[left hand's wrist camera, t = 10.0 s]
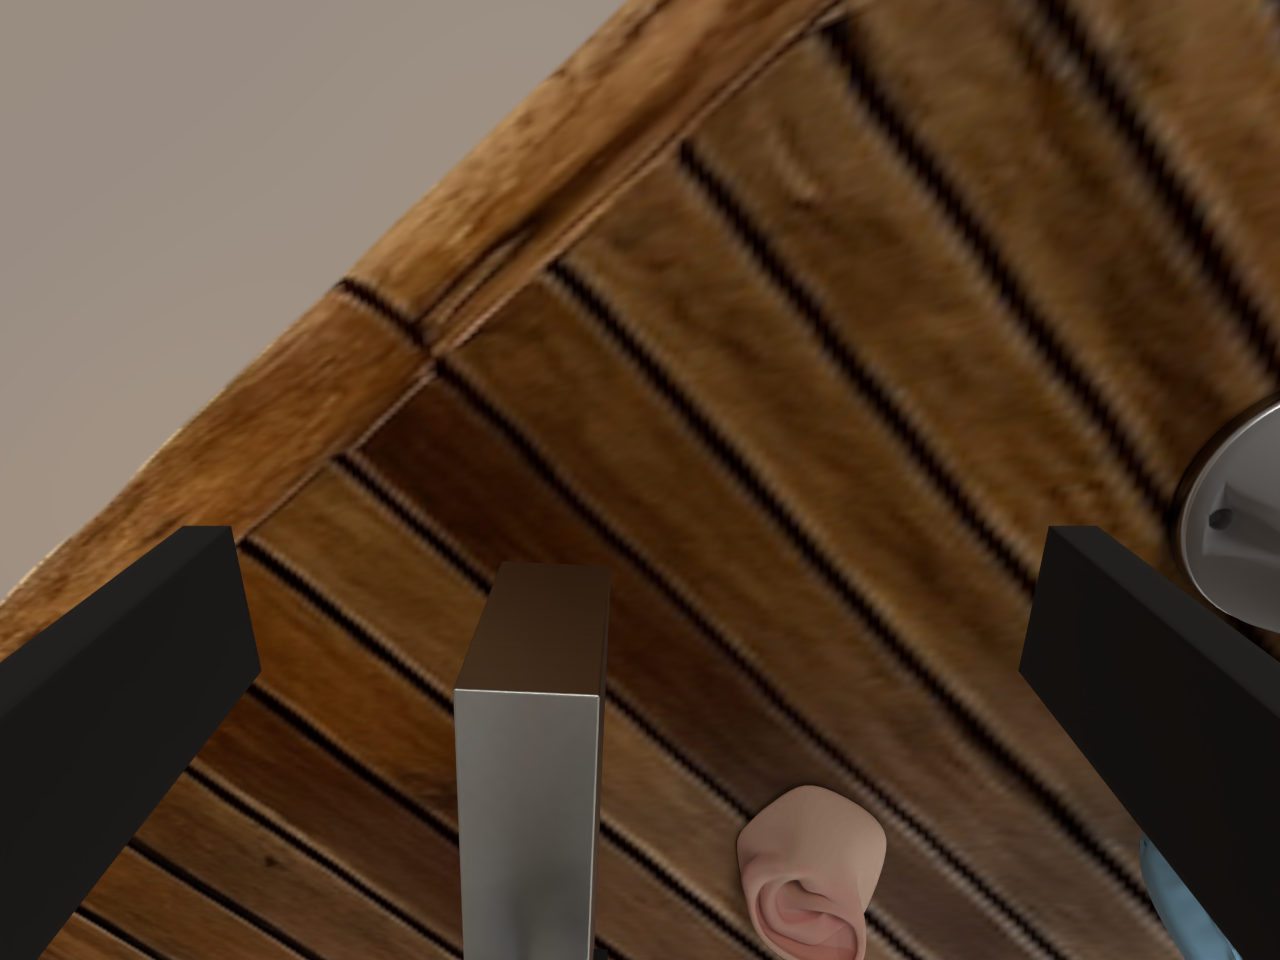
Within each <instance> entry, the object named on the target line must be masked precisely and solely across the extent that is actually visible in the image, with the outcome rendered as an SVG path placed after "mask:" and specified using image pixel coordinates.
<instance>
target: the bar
mask: <svg viewBox="0 0 1280 960" xmlns="http://www.w3.org/2000/svg"><path fill="white" fill-rule="evenodd" d="M610 572H611V568H610V567H609V566H591V565H570V564H549V563H528V562H507V561H503V562H501V565H500V567H499V570H498V573H497V575H496V578H495V581H494V583H493V586H492V589H491V591H490V594H489V597H488V599H487V602H486V605H485V607H484V610H483V613H482V615H481V618H480V620H479V623H478V626H477V628H476V631H475V634H474V636H473V639H472V642H471V644H470V647H469V650H468V652H467V655H466V658H465V660H464V663H463V666H462V668H461V671H460V674H459V676H458V679H457V681H456V684H455V687H454V689H453V696H454V721H455V746H456V772H457V797H458V822H459V848H460V873H461V898H462V923H463V949H464V960H593V954H594V938H595V915H596V892H597V869H598V846H599V823H600V800H601V778H602V755H603V732H604V709H605V686H606V663H607V640H608V617H609V595H610Z"/></svg>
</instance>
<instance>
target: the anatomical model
mask: <svg viewBox="0 0 1280 960" xmlns="http://www.w3.org/2000/svg"><path fill="white" fill-rule="evenodd" d="M885 853H886V837H885V833H884V830H883V829H882V827H881V825H880V824H879V823H878V821H877V820H876V819H875V818H874V817H873V816H872V815H871V814H869V813H868V812H867V811H866V810H864V809H863V808H862V807H860V806H859V805H857V804H855V803H854V802H852V801H850V800H849V799H847V798H845V797H843V796H841V795H839V794H837V793H835V792H833V791H830V790H828V789H825V788H822V787H818V786H801V787H798V788H795V789H793V790H791V791H789V792H787V793H786V794H784V795H782V796H781V797H779V798H778V799H777V800H775V801H774V802H773V803H771V804H770V805H768V806H767V807H766V808H764V809H763V810H762V811H761V812H760V813H758V814H757V815H756V816H755V817H754V818H753V819H752V820H751V821H750V822H749V823H748V824H747V825H746V826H745V827H744V829H743V830H742V831H741V833H740V835H739V837H738V841H737V854H738V861H739V867H740V872H741V882H742V887H743V890H744V894H745V898H746V903H747V908H748V913H749V916H750V920H751V922H752V925H753V927H754V929H755V931H756V933H757V934H758V936H759V937H760V939H761V940H762V941H763V942H764V943H765V944H766V945H767V946H768V947H769V948H770V949H771V950H773V951H774V952H775V953H776V954H778V955H779V956H781V957H782V958H784V959H785V960H863V959H864V955H865V949H866V927H865V919H864V912H865V910H866V908H867V906H868V904H869V902H870V899H871V897H872V894H873V892H874V889H875V887H876V884H877V882H878V879H879V876H880V873H881V870H882V866H883V862H884V858H885Z"/></svg>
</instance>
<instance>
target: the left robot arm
mask: <svg viewBox="0 0 1280 960" xmlns="http://www.w3.org/2000/svg"><path fill="white" fill-rule="evenodd" d="M1170 538H1171V546H1172V551H1173V555H1174V558H1175V561H1176V564H1177V566H1178V568H1179V570H1180V572H1181V574H1182V575H1183V577H1184V578H1185V580H1186V581H1187V582H1188V584H1189V585H1190V586H1191V587H1192V588H1193V589H1194V590H1195V591H1196V592H1198V593H1199V594H1200V595H1201V596H1202V597H1204V598H1205V599H1207V600H1208V601H1209V602H1211V603H1212V604H1213V605H1215V606H1216V607H1218V608H1219V609H1221V610H1222V611H1224V612H1225V613H1227V614H1229V615H1232V616H1234V617H1236V618H1238V619H1240V620H1242V621H1244V622H1246V623H1248V624H1251V625H1254V626H1257V627H1260V628H1264V629H1267V630H1270V631H1274V632H1277V633H1280V391H1279V392H1276V393H1274V394H1272V395H1270V396H1268V397H1266V398H1264V399H1262V400H1260V401H1259V402H1257V403H1255V404H1254V405H1252V406H1250V407H1249V408H1247V409H1246V410H1244V411H1243V412H1242V413H1240V414H1239V415H1237V416H1236V417H1235V418H1234V419H1232V420H1231V421H1230V422H1229V423H1227V424H1226V425H1225V426H1224V427H1223V428H1222V429H1221V430H1220V431H1219V432H1218V433H1217V434H1216V435H1215V436H1214V437H1213V438H1212V439H1211V440H1210V441H1209V442H1208V443H1207V444H1206V446H1205V447H1204V448H1203V449H1202V451H1201V452H1200V453H1199V454H1198V456H1197V457H1196V459H1195V460H1194V462H1193V463H1192V465H1191V466H1190V468H1189V470H1188V471H1187V473H1186V475H1185V477H1184V479H1183V481H1182V483H1181V486H1180V488H1179V490H1178V493H1177V496H1176V499H1175V502H1174V506H1173V511H1172V516H1171V525H1170ZM260 672H261V666H260V662H259V657H258V652H257V647H256V643H255V638H254V633H253V628H252V624H251V619H250V614H249V609H248V605H247V600H246V595H245V590H244V586H243V581H242V576H241V571H240V567H239V562H238V557H237V552H236V548H235V543H234V538H233V533H232V529H231V526H182V527H181V528H180V529H178V530H177V531H176V532H174V533H173V534H172V535H170V536H169V537H168V538H166V539H165V540H164V541H162V542H161V543H160V544H158V545H157V546H156V547H154V548H153V549H152V550H150V551H149V552H148V553H146V554H145V555H144V556H142V557H141V558H140V559H138V560H137V561H136V562H134V563H133V564H132V565H130V566H129V567H128V568H126V569H125V570H124V571H122V572H121V573H120V574H118V575H117V576H116V577H114V578H113V579H112V580H110V581H109V582H108V583H106V584H105V585H104V586H102V587H101V588H99V589H98V590H97V591H95V592H94V593H93V594H91V595H90V596H89V597H87V598H86V599H85V600H83V601H82V602H81V603H79V604H78V605H77V606H75V607H74V608H73V609H71V610H70V611H69V612H67V613H66V614H65V615H63V616H62V617H61V618H59V619H58V620H57V621H55V622H54V623H53V624H51V625H50V626H49V627H47V628H46V629H45V630H43V631H42V632H41V633H39V634H38V635H37V636H35V637H34V638H33V639H31V640H30V641H29V642H27V643H26V644H25V645H23V646H22V647H21V648H19V649H18V650H17V651H15V652H14V653H13V654H11V655H10V656H9V657H7V658H6V659H5V660H3V661H2V662H1V663H0V960H37V959H38V957H39V956H40V955H41V954H42V952H43V951H44V950H45V948H46V947H47V946H48V945H49V943H50V942H51V941H52V939H53V938H54V937H55V936H56V934H57V933H58V932H59V930H60V929H61V928H62V927H63V925H64V924H65V923H66V921H67V920H68V919H69V918H70V916H71V915H72V914H73V912H74V911H75V910H76V909H77V907H78V906H79V905H80V903H81V902H82V901H83V900H84V898H85V897H86V896H87V894H88V893H89V892H90V891H91V889H92V888H93V887H94V885H95V884H96V883H97V882H98V880H99V879H100V878H101V876H102V875H103V874H104V873H105V871H106V870H107V869H108V867H109V866H110V865H111V864H112V862H113V861H114V860H115V858H116V857H117V856H118V855H119V853H120V852H121V851H122V849H123V848H124V847H125V846H126V844H127V843H128V842H129V840H130V839H131V838H132V837H133V835H134V834H135V833H136V831H137V830H138V829H139V828H140V826H141V825H142V824H143V822H144V821H145V820H146V819H147V817H148V816H149V815H150V813H151V812H152V811H153V810H154V808H155V807H156V806H157V804H158V803H159V802H160V801H161V799H162V798H163V797H164V795H165V794H166V793H167V792H168V790H169V789H170V788H171V786H172V785H173V784H174V783H175V781H176V780H177V779H178V777H179V776H180V775H181V774H182V772H183V771H184V770H185V768H186V767H187V766H188V765H189V763H190V762H191V761H192V759H193V758H194V757H195V756H196V754H197V753H198V752H199V750H200V749H201V748H202V747H203V745H204V744H205V743H206V741H207V740H208V739H209V738H210V736H211V735H212V734H213V732H214V731H215V730H216V729H217V727H218V726H219V725H220V723H221V722H222V721H223V720H224V718H225V717H226V716H227V714H228V713H229V712H230V711H231V709H232V708H233V707H234V705H235V704H236V703H237V702H238V700H239V699H240V698H241V696H242V695H243V694H244V693H245V691H246V690H247V689H248V687H249V686H250V685H251V684H252V682H253V681H254V680H255V678H256V677H257V676H258V675H259V673H260ZM1019 672H1020V673H1021V675H1022V676H1023V677H1024V678H1025V680H1026V681H1027V682H1028V684H1029V685H1030V686H1031V687H1032V689H1033V690H1034V691H1035V693H1036V694H1037V695H1038V696H1039V698H1040V699H1041V700H1042V702H1043V703H1044V704H1045V705H1046V707H1047V708H1048V709H1049V711H1050V712H1051V713H1052V714H1053V716H1054V717H1055V718H1056V720H1057V721H1058V722H1059V723H1060V725H1061V726H1062V727H1063V729H1064V730H1065V731H1066V732H1067V734H1068V735H1069V736H1070V738H1071V739H1072V740H1073V741H1074V743H1075V744H1076V745H1077V747H1078V748H1079V749H1080V750H1081V752H1082V753H1083V754H1084V756H1085V757H1086V758H1087V759H1088V761H1089V762H1090V763H1091V765H1092V766H1093V767H1094V768H1095V770H1096V771H1097V772H1098V774H1099V775H1100V776H1101V777H1102V779H1103V780H1104V781H1105V783H1106V784H1107V785H1108V786H1109V788H1110V789H1111V790H1112V792H1113V793H1114V794H1115V795H1116V797H1117V798H1118V799H1119V801H1120V802H1121V803H1122V804H1123V806H1124V807H1125V808H1126V810H1127V811H1128V812H1129V813H1130V815H1131V816H1132V817H1133V819H1134V820H1135V821H1136V822H1137V824H1138V825H1139V826H1140V828H1141V829H1142V830H1143V831H1144V832H1143V834H1142V837H1141V839H1140V848H1139V858H1140V862H1141V871H1142V876H1143V879H1144V883H1145V885H1146V888H1147V891H1148V893H1149V895H1150V898H1151V900H1152V902H1153V904H1154V906H1155V908H1156V911H1157V912H1158V914H1159V916H1160V918H1161V920H1162V922H1163V924H1164V925H1165V927H1166V929H1167V931H1168V932H1169V934H1170V936H1171V937H1172V939H1173V941H1174V942H1175V944H1176V945H1177V947H1178V949H1179V950H1180V952H1181V953H1182V955H1183V956H1184V958H1185V959H1186V960H1280V663H1279V662H1278V661H1277V660H1275V659H1274V658H1273V657H1271V656H1270V655H1269V654H1267V653H1266V652H1265V651H1263V650H1262V649H1261V648H1259V647H1258V646H1257V645H1255V644H1254V643H1253V642H1251V641H1250V640H1249V639H1247V638H1246V637H1245V636H1243V635H1242V634H1241V633H1239V632H1238V631H1237V630H1235V629H1234V628H1233V627H1231V626H1230V625H1229V624H1227V623H1226V622H1225V621H1223V620H1222V619H1221V618H1219V617H1218V616H1217V615H1215V614H1214V613H1213V612H1211V611H1210V610H1209V609H1207V608H1206V607H1205V606H1203V605H1202V604H1201V603H1199V602H1198V601H1197V600H1195V599H1194V598H1193V597H1191V596H1190V595H1189V594H1187V593H1186V592H1185V591H1183V590H1182V589H1181V588H1179V587H1178V586H1176V585H1175V584H1174V583H1172V582H1171V581H1170V580H1168V579H1167V578H1166V577H1164V576H1163V575H1162V574H1160V573H1159V572H1158V571H1156V570H1155V569H1154V568H1152V567H1151V566H1150V565H1148V564H1147V563H1146V562H1144V561H1143V560H1142V559H1140V558H1139V557H1138V556H1136V555H1135V554H1134V553H1132V552H1131V551H1130V550H1128V549H1127V548H1126V547H1124V546H1123V545H1122V544H1120V543H1119V542H1118V541H1116V540H1115V539H1114V538H1112V537H1111V536H1110V535H1108V534H1107V533H1106V532H1104V531H1103V530H1102V529H1100V528H1099V527H1098V526H1049V529H1048V533H1047V538H1046V543H1045V548H1044V552H1043V557H1042V562H1041V567H1040V571H1039V576H1038V581H1037V586H1036V590H1035V595H1034V600H1033V605H1032V609H1031V614H1030V619H1029V624H1028V628H1027V633H1026V638H1025V643H1024V647H1023V652H1022V657H1021V662H1020V666H1019Z"/></svg>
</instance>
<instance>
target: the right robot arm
mask: <svg viewBox="0 0 1280 960" xmlns="http://www.w3.org/2000/svg"><path fill="white" fill-rule="evenodd" d="M607 956H608V949H594V954H593V960H607Z"/></svg>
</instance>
